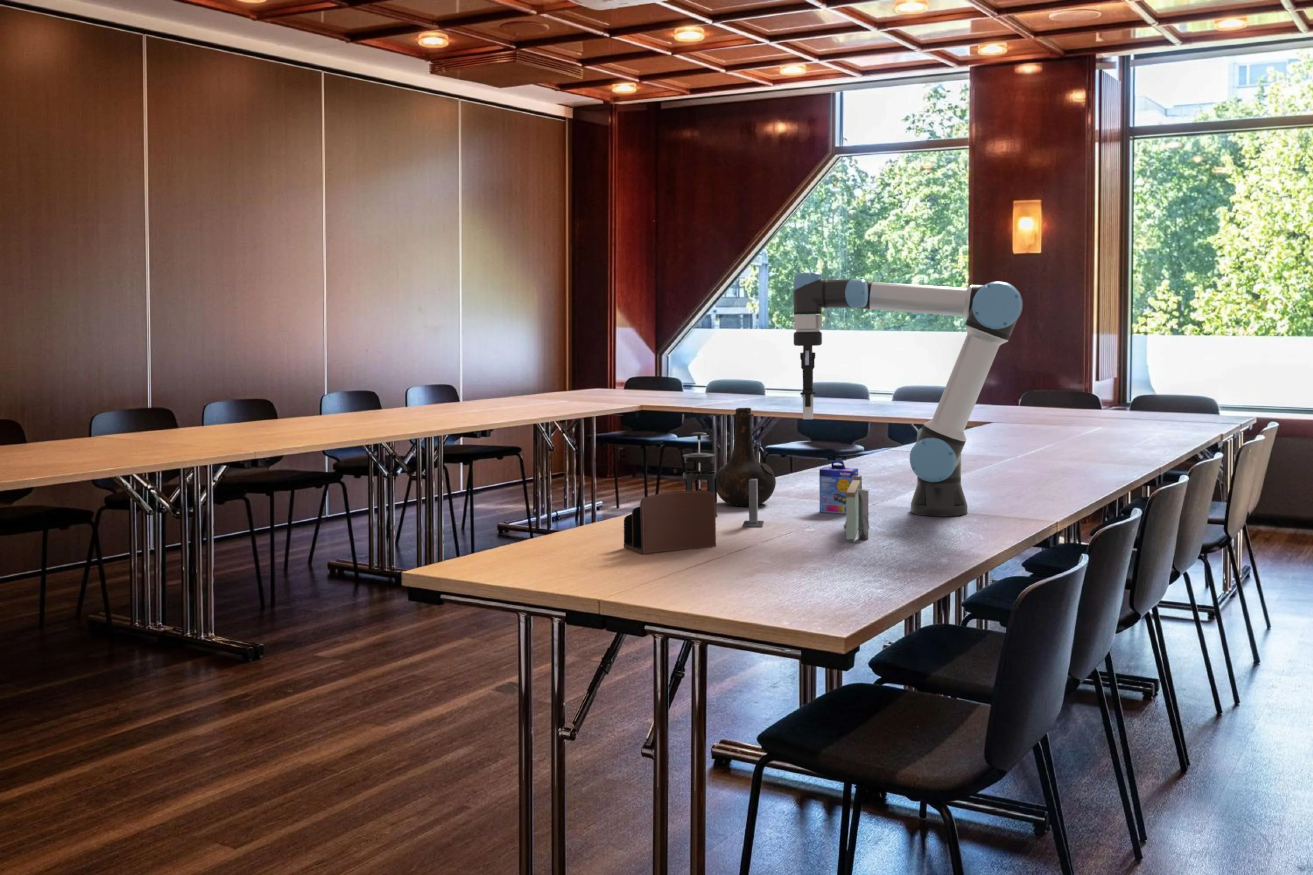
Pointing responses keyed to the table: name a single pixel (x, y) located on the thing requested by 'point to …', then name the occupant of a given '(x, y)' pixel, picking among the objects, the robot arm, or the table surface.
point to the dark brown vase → (744, 467)
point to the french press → (701, 475)
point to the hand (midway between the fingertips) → (808, 418)
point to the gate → (852, 509)
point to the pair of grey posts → (862, 521)
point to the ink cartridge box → (835, 487)
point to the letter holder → (672, 522)
